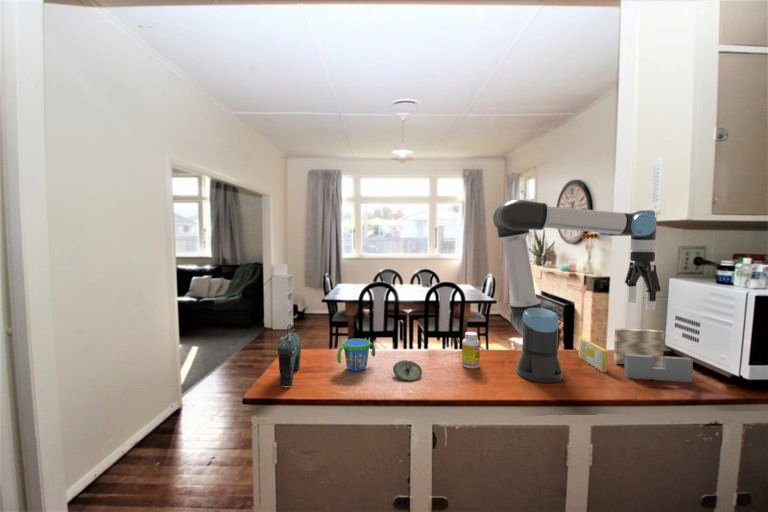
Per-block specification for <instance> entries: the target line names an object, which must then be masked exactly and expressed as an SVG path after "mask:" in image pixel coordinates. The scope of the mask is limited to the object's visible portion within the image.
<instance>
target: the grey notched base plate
mask: <svg viewBox="0 0 768 512" xmlns="http://www.w3.org/2000/svg"><path fill="white" fill-rule="evenodd" d="M693 363H694V359H692V358H691V357H681V356H666V355H665V356H664V355H663V364H662V367H653V357H652V356H650V355H635V354H625V365H623V366H624V370H623V373H624V374H623V376H624V377H625V376H626V377H627V379H636V380H637V379H639V380H650V379H653V380H654V381H666V382H682V383H692V382H693V368H694V367H693V365H694V364H693ZM626 377H625V378H626ZM653 380H652V381H653Z"/></svg>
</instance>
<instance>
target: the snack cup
mask: <svg viewBox="0 0 768 512" xmlns="http://www.w3.org/2000/svg"><path fill="white" fill-rule="evenodd" d="M370 347H371V351H370V353H371V354H370V355H371V356H372V357H375V356H376V346H375V345H374V344H373V342H371V341H370V340H368V339H365V338H350V339H349V338H348V339H346V340H344V341H343V342H342V345H341V346H340V347H339V349H338V350H337V353H336V360H337V363H338V364H340V365H341V363H342V361H341V360H342V359H341V358H342V357H341V356H342V351H344V357H345V363H346V365H345V366H346V369H347V370H349V371H352V372H361V371H363V370H364V369H365V370H366V369H367V365H368V359H369V350H370Z"/></svg>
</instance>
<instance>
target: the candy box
mask: <svg viewBox="0 0 768 512" xmlns="http://www.w3.org/2000/svg"><path fill="white" fill-rule="evenodd" d="M578 343H579V344H578V358H579V357H580V358H579V359H581V360H582V359H583V360H582V361H584V362H585V361H586V362H585V363H587V364H589V365H590V364H591V365H590V366H592V367H593V366H594V368H595V369H596V368H597V369H596V370H598V371H599V370H600V372H601V373H607V369H608V357H609V355H608V354H609V351H608V350H606V348H604V347H601V346H599V345H598V344H596V343H593V342H591V341H589V340H587V339H586V338H584V337H579V342H578Z"/></svg>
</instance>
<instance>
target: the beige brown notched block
mask: <svg viewBox="0 0 768 512" xmlns="http://www.w3.org/2000/svg"><path fill="white" fill-rule="evenodd" d="M613 345H614V347H613V364H614V363H616V364H625V354H635V355H650V356H652V357H653V366H655V367H662V364H663V356H664V348H665V347H664V345H665V331H663V330H659V329H640V328H639V329H638V328H619V327H618V328H616V327H615V328H614V344H613ZM616 364H615V365H616Z"/></svg>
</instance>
